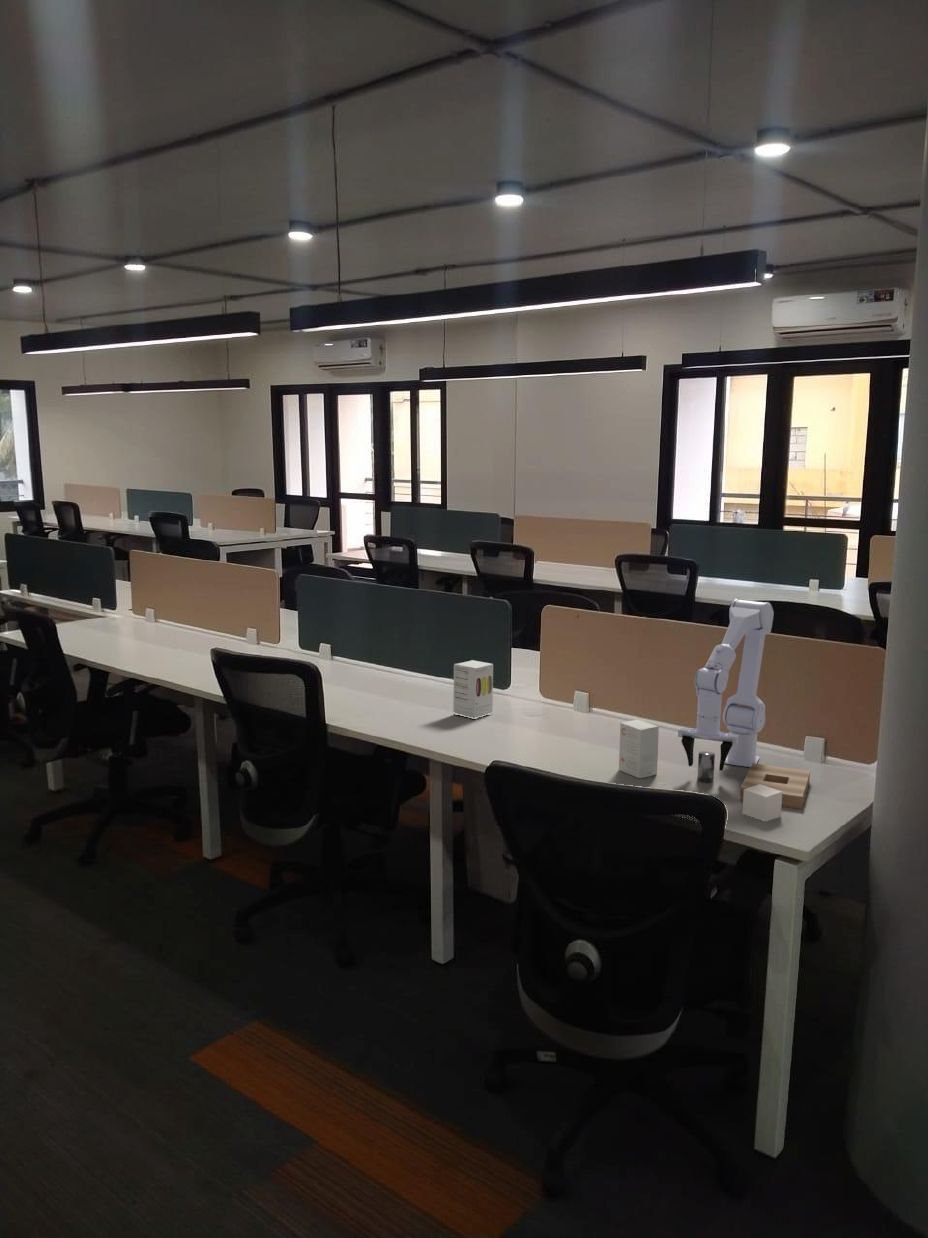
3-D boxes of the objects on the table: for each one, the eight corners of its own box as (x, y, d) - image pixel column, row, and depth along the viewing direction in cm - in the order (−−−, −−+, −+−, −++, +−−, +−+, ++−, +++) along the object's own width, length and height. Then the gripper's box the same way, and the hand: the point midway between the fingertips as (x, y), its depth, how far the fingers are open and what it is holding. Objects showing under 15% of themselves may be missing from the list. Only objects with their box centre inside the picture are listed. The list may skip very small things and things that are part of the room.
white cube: (758, 808, 208) (760, 784, 207) (780, 816, 203) (782, 791, 202) (742, 814, 204) (743, 789, 203) (764, 822, 199) (766, 797, 198)
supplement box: (474, 720, 279) (474, 668, 276) (452, 715, 285) (452, 663, 282) (493, 714, 286) (494, 663, 284) (471, 709, 292) (472, 659, 290)
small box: (657, 775, 230) (659, 726, 228) (639, 779, 227) (641, 729, 225) (635, 766, 237) (637, 718, 235) (617, 770, 234) (619, 722, 231)
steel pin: (699, 776, 229) (700, 750, 228) (714, 779, 227) (716, 752, 226) (695, 781, 225) (697, 754, 224) (712, 783, 224) (713, 757, 223)
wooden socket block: (751, 774, 231) (752, 763, 230) (809, 782, 225) (810, 771, 225) (739, 799, 213) (740, 787, 213) (801, 809, 207) (802, 796, 207)
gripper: (676, 715, 223) (673, 767, 225) (736, 723, 217) (732, 776, 219) (682, 709, 229) (679, 759, 232) (740, 716, 223) (737, 768, 225)
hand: (705, 767), depth 226 cm, fingers open, 7 cm apart
